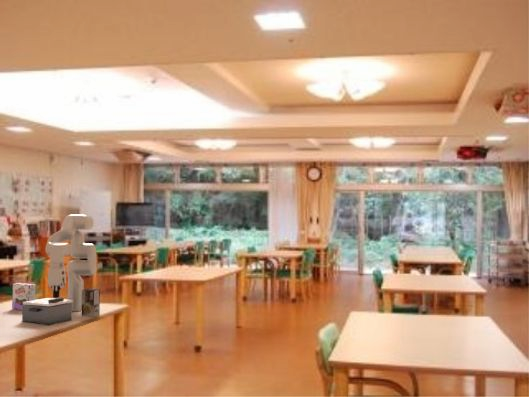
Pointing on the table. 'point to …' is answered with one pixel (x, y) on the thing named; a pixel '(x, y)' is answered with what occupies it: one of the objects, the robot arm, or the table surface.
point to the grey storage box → (46, 314)
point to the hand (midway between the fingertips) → (56, 297)
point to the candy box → (22, 294)
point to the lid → (48, 301)
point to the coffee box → (91, 302)
